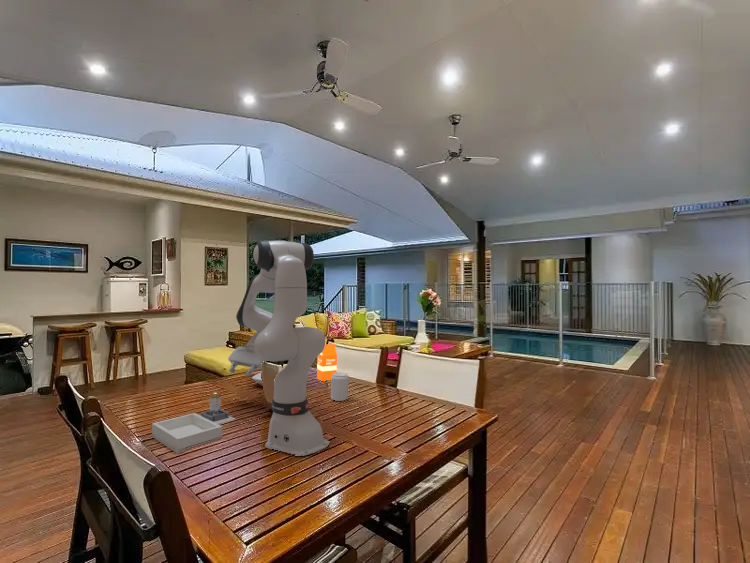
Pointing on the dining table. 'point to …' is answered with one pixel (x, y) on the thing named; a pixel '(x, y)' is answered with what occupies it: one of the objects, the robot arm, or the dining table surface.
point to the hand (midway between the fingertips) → (238, 373)
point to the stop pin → (214, 403)
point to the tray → (186, 432)
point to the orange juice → (327, 363)
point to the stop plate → (218, 417)
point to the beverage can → (339, 386)
